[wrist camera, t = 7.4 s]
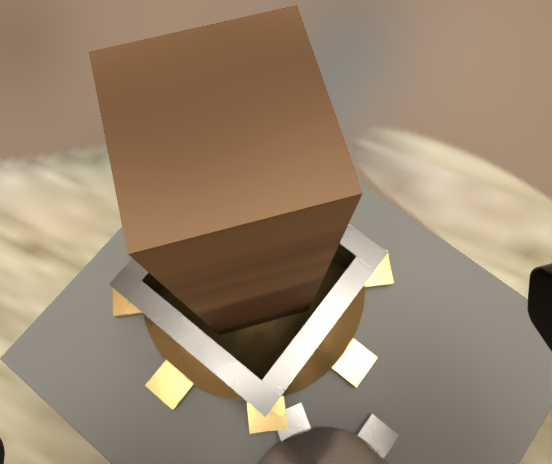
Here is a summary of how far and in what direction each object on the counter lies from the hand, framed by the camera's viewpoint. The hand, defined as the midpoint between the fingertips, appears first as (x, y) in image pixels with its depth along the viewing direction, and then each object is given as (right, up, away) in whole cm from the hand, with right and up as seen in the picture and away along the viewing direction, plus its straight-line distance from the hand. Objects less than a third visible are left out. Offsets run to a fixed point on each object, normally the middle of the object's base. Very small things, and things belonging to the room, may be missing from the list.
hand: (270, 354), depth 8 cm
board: (+1, -3, +13) cm, 13 cm away
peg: (-1, 0, +12) cm, 12 cm away
